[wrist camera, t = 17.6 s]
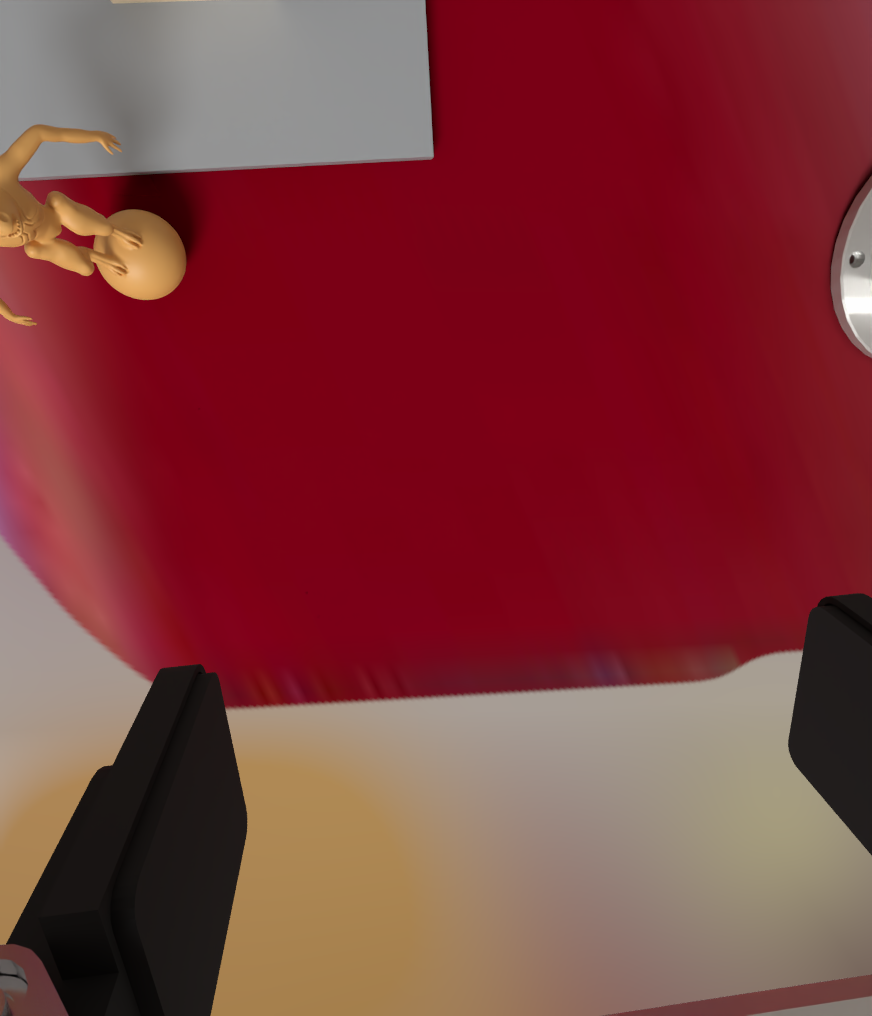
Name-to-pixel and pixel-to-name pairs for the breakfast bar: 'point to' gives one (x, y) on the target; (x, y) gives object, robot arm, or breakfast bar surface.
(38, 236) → the figurine
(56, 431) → the breakfast bar surface
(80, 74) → the base plate
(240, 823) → the robot arm
